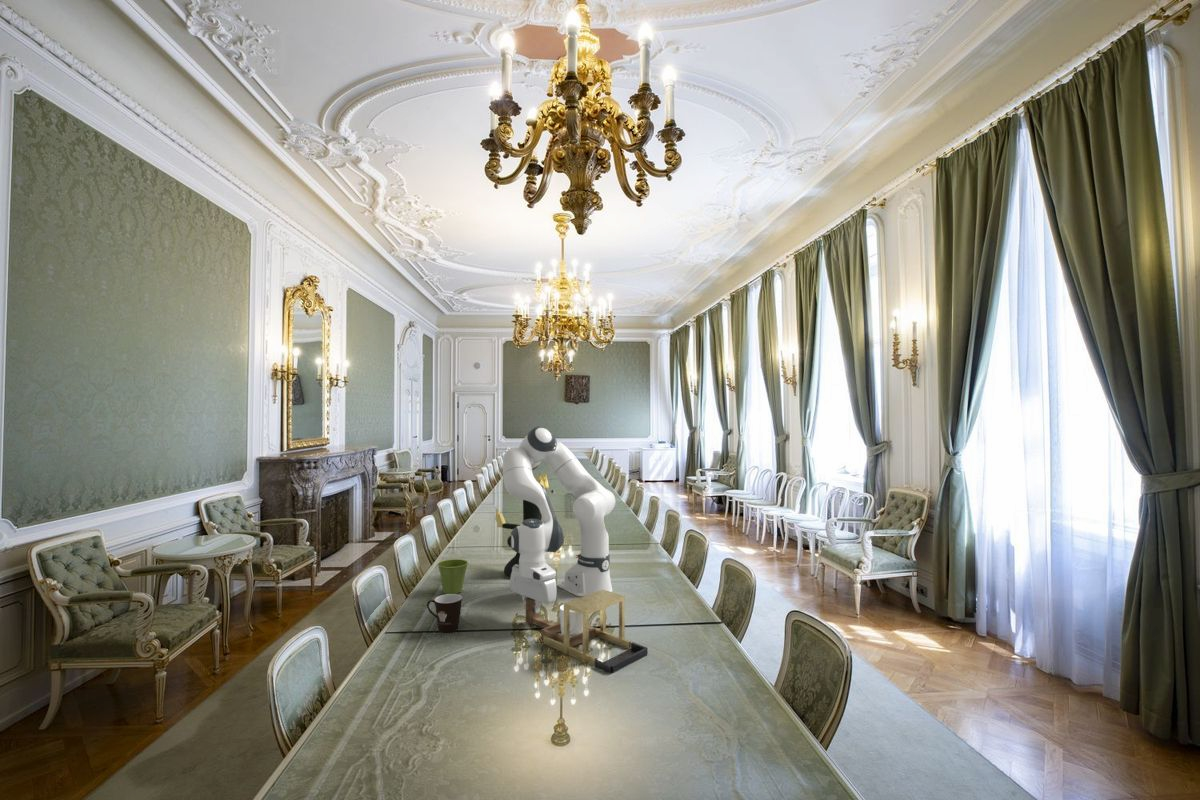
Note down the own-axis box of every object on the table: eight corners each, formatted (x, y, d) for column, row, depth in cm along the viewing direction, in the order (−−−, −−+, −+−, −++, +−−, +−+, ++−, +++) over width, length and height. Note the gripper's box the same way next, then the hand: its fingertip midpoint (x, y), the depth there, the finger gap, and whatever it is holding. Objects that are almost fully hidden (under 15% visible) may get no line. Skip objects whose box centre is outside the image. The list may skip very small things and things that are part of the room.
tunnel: (542, 644, 170) (542, 595, 170) (581, 627, 182) (581, 582, 183) (610, 674, 151) (610, 620, 151) (649, 654, 163) (649, 603, 164)
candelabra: (529, 564, 254) (529, 466, 254) (560, 575, 238) (561, 470, 238) (493, 573, 240) (494, 469, 241) (525, 585, 225) (525, 473, 225)
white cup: (565, 646, 168) (565, 613, 168) (555, 636, 175) (556, 604, 175) (588, 642, 171) (589, 609, 172) (579, 632, 179) (579, 601, 179)
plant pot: (473, 593, 215) (473, 564, 215) (442, 599, 209) (443, 569, 209) (462, 585, 225) (462, 557, 225) (432, 590, 218) (433, 561, 219)
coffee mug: (467, 629, 181) (467, 598, 181) (443, 637, 175) (443, 605, 175) (447, 619, 189) (447, 590, 189) (424, 627, 183) (424, 596, 183)
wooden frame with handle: (514, 626, 183) (515, 601, 183) (542, 616, 192) (542, 592, 192) (567, 649, 166) (567, 622, 166) (595, 636, 175) (595, 611, 175)
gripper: (505, 564, 191) (505, 605, 191) (545, 577, 177) (545, 621, 177) (519, 561, 196) (519, 600, 196) (559, 573, 182) (559, 615, 182)
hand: (532, 610), depth 186 cm, fingers closed on wooden frame with handle, 3 cm apart
